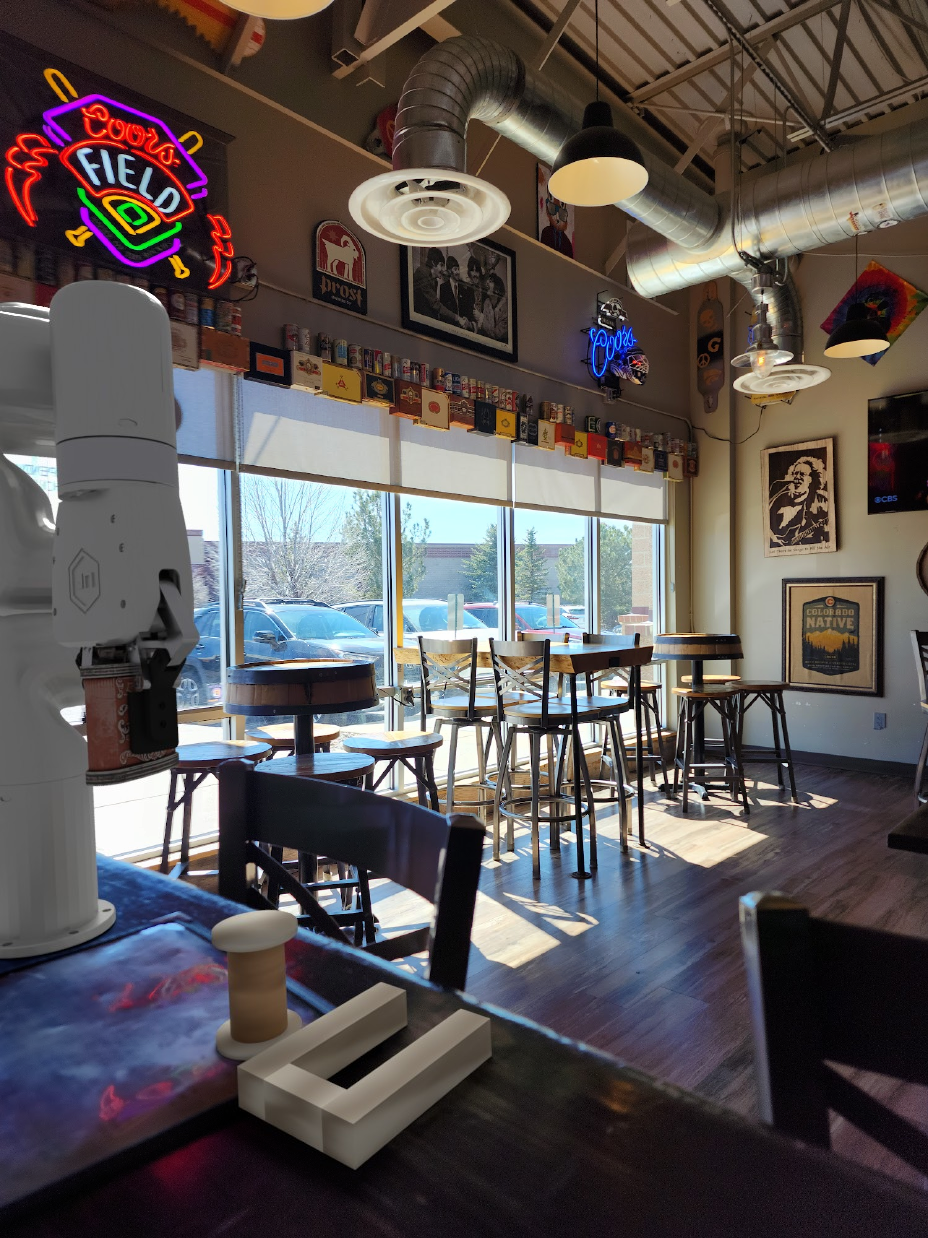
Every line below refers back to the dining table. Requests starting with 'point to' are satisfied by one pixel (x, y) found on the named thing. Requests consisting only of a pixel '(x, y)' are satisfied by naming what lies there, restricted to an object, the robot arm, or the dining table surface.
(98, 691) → the lighter
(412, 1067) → the notched board
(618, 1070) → the dining table surface
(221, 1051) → the bobbin
